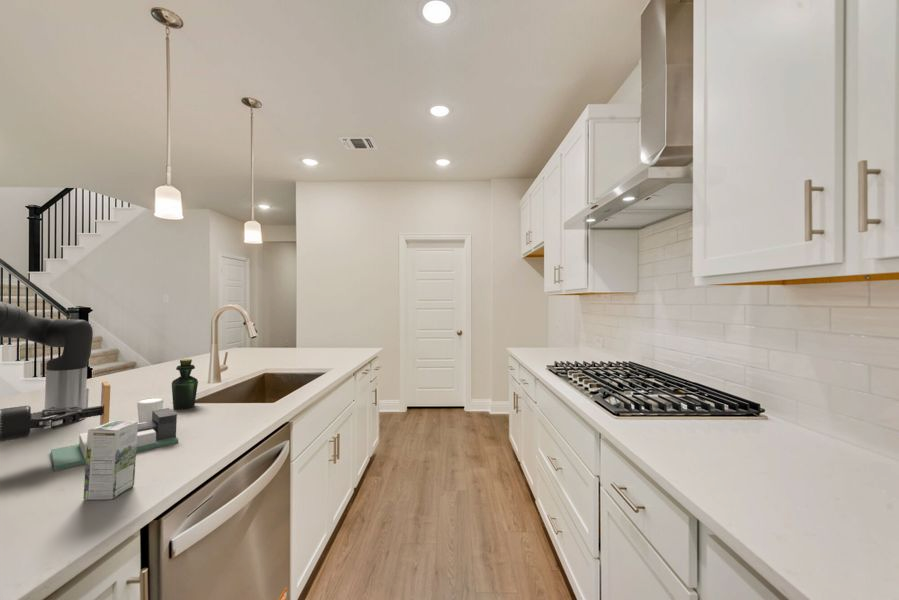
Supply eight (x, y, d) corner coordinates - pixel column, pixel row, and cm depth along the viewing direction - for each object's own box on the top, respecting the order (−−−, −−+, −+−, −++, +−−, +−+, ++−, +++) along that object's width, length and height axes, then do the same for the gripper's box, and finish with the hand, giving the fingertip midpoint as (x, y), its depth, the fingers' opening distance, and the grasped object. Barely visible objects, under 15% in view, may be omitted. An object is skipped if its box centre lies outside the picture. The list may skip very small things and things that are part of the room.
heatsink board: (54, 470, 85) (55, 438, 85) (51, 453, 94) (52, 424, 94) (178, 442, 103) (179, 416, 103) (165, 430, 112) (166, 406, 112)
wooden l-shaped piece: (103, 438, 94) (105, 385, 94) (99, 432, 98) (101, 382, 98) (162, 426, 103) (164, 379, 104) (157, 421, 107) (159, 375, 107)
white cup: (131, 422, 118) (132, 401, 118) (155, 416, 124) (156, 396, 124) (144, 425, 115) (145, 404, 115) (167, 419, 122) (168, 399, 122)
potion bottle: (196, 408, 134) (198, 360, 135) (169, 411, 130) (171, 362, 130) (197, 403, 141) (199, 357, 141) (171, 405, 137) (173, 358, 137)
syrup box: (107, 486, 79) (109, 420, 79) (135, 486, 79) (138, 420, 79) (82, 500, 73) (85, 429, 73) (113, 500, 73) (116, 429, 74)
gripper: (-2, 416, 78) (106, 401, 92) (0, 403, 87) (99, 391, 100) (-4, 450, 78) (105, 430, 92) (-2, 434, 87) (98, 418, 100)
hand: (102, 410), depth 96 cm, fingers closed
